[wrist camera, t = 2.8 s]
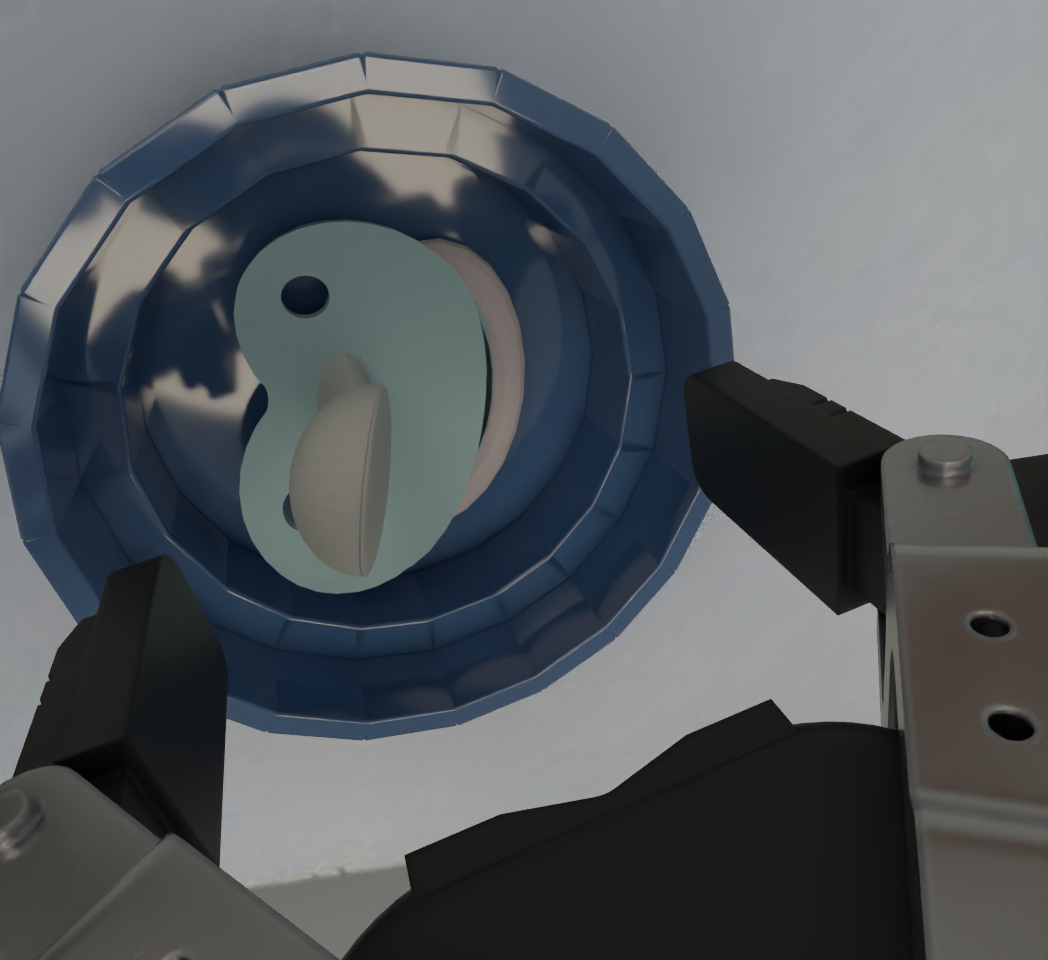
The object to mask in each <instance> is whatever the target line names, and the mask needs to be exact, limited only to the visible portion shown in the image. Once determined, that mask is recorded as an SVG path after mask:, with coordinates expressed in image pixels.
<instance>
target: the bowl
mask: <svg viewBox="0 0 1048 960" xmlns="http://www.w3.org/2000/svg"><path fill="white" fill-rule="evenodd" d="M339 219H349V220H358V221H367V222H372V223H376V224H379V225H383V226H386V227H390V228H393V229H395V230H398V231H400V232H402V233H404V234H406V235H408V236H410V237H412V238H414V239H416V240H417V241H422V240H430V239H438V238H441V239H444V240H448V241H451V242H454V243H458V244H461V245H464V246H467V247H469V248H470V249H471V250H472V251H474V252H475V253H476V254H477V255H479V256H480V257H481V258H483V259H484V260H485V261H486V262H488V263H489V264H490V265H491V266H492V268H493V269H494V271H495V272H496V274H497V275H498V277H499V278H500V280H501V281H502V283H503V284H504V286H505V287H506V289H507V290H508V292H509V295H510V297H511V300H512V303H513V306H514V309H515V311H516V314H517V317H518V320H519V323H520V328H521V335H522V342H523V349H524V356H525V371H524V395H523V402H522V407H521V411H520V416H519V420H518V425H517V430H516V433H515V436H514V438H513V441H512V443H511V445H510V448H509V450H508V453H507V455H506V458H505V460H504V463H503V464H502V466H501V468H500V469H499V471H498V472H497V474H496V475H495V477H494V478H493V480H492V481H491V483H490V484H489V486H488V488H487V489H486V490H485V491H484V492H483V493H482V494H481V495H480V496H479V497H478V498H477V499H476V500H475V501H474V502H473V503H472V504H471V505H470V506H469V507H468V508H467V509H466V510H464V511H463V512H461V513H459V514H457V515H456V516H454V517H453V518H452V520H451V522H450V523H449V525H448V527H447V529H446V530H445V532H444V533H443V534H442V535H441V537H440V538H439V539H438V541H437V542H436V543H435V545H434V546H433V547H432V549H431V550H430V551H429V552H428V553H427V554H426V555H424V556H423V557H422V558H421V559H420V560H418V561H417V562H416V563H415V564H414V565H413V566H411V567H409V568H407V569H406V570H404V571H403V572H402V573H401V574H399V575H398V576H397V577H395V578H393V579H391V580H388V581H386V582H384V583H382V584H380V585H379V586H376V587H373V588H369V589H366V590H363V591H359V592H350V593H341V594H333V593H323V592H316V591H314V590H311V589H308V588H305V587H301V586H298V585H297V584H295V583H293V582H292V581H290V580H288V579H287V578H285V577H284V576H282V575H281V574H280V573H279V572H277V571H276V570H275V569H274V568H273V567H272V566H271V565H270V564H269V563H268V562H267V561H266V560H265V559H264V557H263V556H262V555H261V553H260V552H259V550H258V549H257V547H256V546H255V545H254V543H253V541H252V540H251V537H250V535H249V532H248V530H247V527H246V525H245V522H244V519H243V514H242V508H241V501H240V494H239V487H240V470H241V466H242V462H243V458H244V454H245V450H246V447H247V445H248V443H249V440H250V438H251V436H252V434H253V432H254V429H255V427H256V425H257V424H258V422H259V421H260V419H261V418H262V416H263V415H264V413H265V412H266V411H267V408H268V393H267V390H266V388H265V386H264V385H263V384H261V383H260V381H259V380H258V379H257V378H256V376H255V375H254V374H253V372H252V370H251V368H250V366H249V365H248V363H247V361H246V359H245V358H244V356H243V353H242V350H241V348H240V345H239V342H238V339H237V336H236V329H235V321H234V306H235V298H236V292H237V288H238V284H239V282H240V279H241V277H242V275H243V274H244V272H245V270H246V269H247V267H248V266H249V264H250V262H251V261H252V260H253V258H254V257H255V255H256V254H257V253H258V252H259V251H260V250H261V249H262V248H263V247H264V246H266V245H267V244H268V243H269V242H270V241H271V240H273V239H274V238H275V237H277V236H279V235H281V234H283V233H285V232H287V231H289V230H291V229H293V228H295V227H297V226H300V225H304V224H308V223H312V222H317V221H322V220H339ZM20 292H21V293H20V294H19V295H18V296H17V301H16V307H15V312H14V318H13V323H12V329H11V335H10V340H9V346H8V351H7V357H6V362H5V368H4V373H3V379H2V385H1V390H0V447H1V451H2V456H3V460H4V465H5V469H6V474H7V478H8V483H9V487H10V492H11V496H12V501H13V505H14V510H15V514H16V519H17V523H18V528H19V532H20V537H21V538H22V540H23V543H24V545H25V547H26V548H27V550H28V551H29V552H30V554H31V555H32V557H33V558H34V560H35V561H36V563H37V564H38V566H39V567H40V569H41V570H42V572H43V573H44V575H45V576H46V578H47V579H48V581H49V582H50V584H51V585H52V586H53V588H54V589H55V591H56V592H57V594H58V595H59V597H60V598H61V600H62V601H63V603H64V604H65V606H66V607H67V609H68V610H69V612H70V613H71V615H72V616H73V617H74V619H75V620H76V622H77V623H78V624H79V622H80V621H81V620H82V619H85V618H87V617H90V616H93V615H96V614H97V611H98V608H99V604H100V601H101V598H102V594H103V591H104V588H105V585H106V581H107V578H108V576H109V574H110V573H111V572H114V571H117V570H120V569H122V568H125V567H128V566H131V565H134V564H137V563H140V562H143V561H146V560H149V559H152V558H154V557H157V556H160V555H163V554H167V555H169V556H170V557H171V558H172V559H173V560H174V561H175V562H176V564H177V565H178V567H179V569H180V570H181V572H182V574H183V576H184V578H185V579H186V581H187V583H188V585H189V586H190V588H191V590H192V592H193V594H194V595H195V597H196V599H197V601H198V603H199V604H200V606H201V608H202V610H203V612H204V613H205V615H206V617H207V619H208V620H209V622H210V624H211V626H212V628H213V629H214V631H215V633H216V635H217V637H218V639H219V641H220V644H221V646H222V649H223V652H224V656H225V659H226V664H227V670H228V690H227V711H226V718H227V719H230V720H233V721H235V722H238V723H241V724H244V725H247V726H249V727H252V728H255V729H258V730H261V731H263V732H266V731H268V732H269V733H277V734H290V735H302V736H315V737H327V738H340V739H352V740H363V739H364V738H365V740H370V739H376V738H382V737H389V736H395V735H401V734H407V733H413V732H420V731H426V730H432V729H438V728H444V727H450V726H455V725H457V724H458V725H460V724H463V723H465V722H467V721H470V720H472V719H475V718H477V717H480V716H482V715H484V714H487V713H489V712H492V711H494V710H497V709H499V708H502V707H504V706H506V705H509V704H511V703H514V702H516V701H519V700H521V699H524V698H526V697H528V696H531V695H533V694H536V693H538V692H541V691H542V689H545V688H547V687H548V686H550V685H551V684H553V683H554V682H555V681H557V680H558V679H560V678H561V677H562V676H564V675H565V674H567V673H568V672H570V671H571V670H572V669H574V668H575V667H577V666H578V665H579V664H581V663H582V662H584V661H585V660H587V659H588V658H589V657H591V656H592V655H594V654H595V653H597V652H598V651H599V650H601V649H602V648H604V647H605V646H606V645H608V644H609V643H611V642H612V641H614V640H615V637H618V636H619V635H620V634H621V633H622V632H623V630H624V629H625V628H626V627H627V626H628V625H629V624H630V623H631V621H632V620H633V619H634V618H635V617H636V616H637V615H638V614H639V612H640V611H641V610H642V609H643V608H644V607H645V606H646V605H647V603H648V602H649V601H650V600H651V599H652V598H653V597H654V596H655V594H656V593H657V592H658V591H659V590H660V589H661V588H662V587H663V585H664V584H665V583H666V582H667V581H668V580H669V579H670V578H671V576H672V575H673V574H674V572H675V571H674V570H677V568H678V566H679V565H680V563H681V561H682V559H683V557H684V555H685V553H686V551H687V549H688V547H689V545H690V543H691V542H692V540H693V538H694V536H695V534H696V532H697V530H698V528H699V526H700V524H701V522H702V520H703V519H704V517H705V515H706V513H707V511H708V509H709V507H710V505H711V503H712V502H711V501H710V500H709V499H708V498H707V497H706V495H705V494H704V492H703V491H702V489H701V488H700V486H699V484H698V481H697V479H696V476H695V473H694V470H693V466H692V460H691V452H690V443H689V435H688V426H687V418H686V410H685V401H684V392H683V387H684V381H685V379H686V377H687V376H688V375H691V374H694V373H697V372H700V371H703V370H706V369H709V368H712V367H714V366H717V365H720V364H723V363H726V362H729V361H734V355H733V342H732V329H731V317H730V308H729V306H728V305H729V302H728V300H727V297H726V295H725V293H724V290H723V288H722V286H721V283H720V281H719V278H718V276H717V274H716V271H715V269H714V267H713V264H712V262H711V260H710V257H709V255H708V252H707V250H706V248H705V245H704V243H703V241H702V238H701V236H700V234H699V231H698V229H697V226H696V224H695V222H694V219H693V217H692V215H691V212H690V211H689V210H688V208H687V206H686V205H685V204H684V203H683V202H682V201H681V200H680V199H679V197H678V196H677V195H676V194H675V193H674V192H673V191H672V190H671V189H670V188H669V187H668V186H667V184H666V183H665V182H664V181H663V180H662V179H661V178H660V177H659V176H658V175H657V174H656V172H655V171H654V170H653V169H652V168H651V167H650V166H649V165H648V164H647V163H646V162H645V160H644V159H643V158H642V157H641V156H640V155H639V154H638V153H637V152H636V151H635V150H634V149H633V147H632V146H631V145H630V144H629V143H628V142H627V141H626V140H625V139H624V138H623V137H622V135H621V134H620V133H619V132H618V131H617V130H616V129H615V128H613V127H611V126H610V125H609V123H607V122H605V121H603V120H601V119H599V118H597V117H595V116H593V115H591V114H589V113H587V112H585V111H583V110H582V109H580V108H578V107H576V106H574V105H572V104H570V103H568V102H566V101H564V100H562V99H560V98H558V97H556V96H554V95H552V94H550V93H548V92H546V91H544V90H542V89H541V88H539V87H537V86H535V85H533V84H531V83H529V82H527V81H525V80H523V79H521V78H519V77H517V76H515V75H513V74H511V73H509V72H507V71H505V70H503V69H500V70H498V68H496V67H491V66H482V65H474V64H465V63H456V62H448V61H439V60H431V59H422V58H413V57H405V56H396V55H387V54H379V53H370V52H365V53H353V54H349V55H345V56H341V57H337V58H333V59H329V60H325V61H321V62H317V63H313V64H309V65H305V66H301V67H297V68H293V69H289V70H285V71H281V72H277V73H273V74H269V75H265V76H261V77H257V78H253V79H249V80H245V81H241V82H237V83H233V84H229V85H225V86H222V87H221V88H220V89H217V90H213V91H212V92H210V93H209V94H207V95H206V96H205V97H203V98H202V99H200V100H199V101H197V102H196V103H195V104H193V105H192V106H190V107H189V108H188V109H186V110H185V111H183V112H182V113H180V114H179V115H178V116H176V117H175V118H173V119H172V120H170V121H169V122H168V123H166V124H165V125H163V126H162V127H160V128H159V129H158V130H156V131H155V132H153V133H152V134H150V135H149V136H148V137H146V138H145V139H143V140H142V141H140V142H139V143H138V144H136V145H135V146H133V147H132V148H130V149H129V150H128V151H126V152H125V153H123V154H122V155H120V156H119V157H118V158H116V159H115V160H113V161H112V162H111V163H109V164H108V165H106V166H105V167H103V168H102V169H101V170H100V171H99V173H98V174H97V175H95V176H94V177H93V178H92V179H91V181H90V183H89V184H88V186H87V187H86V189H85V190H84V192H83V193H82V195H81V196H80V198H79V199H78V201H77V203H76V204H75V206H74V207H73V209H72V210H71V212H70V213H69V215H68V216H67V218H66V219H65V221H64V223H63V224H62V226H61V227H60V229H59V230H58V232H57V233H56V235H55V236H54V238H53V239H52V241H51V243H50V244H49V246H48V247H47V249H46V250H45V252H44V253H43V255H42V256H41V258H40V259H39V261H38V263H37V264H36V266H35V267H34V269H33V270H32V272H31V273H30V275H29V276H28V278H27V280H26V281H25V283H24V284H23V286H22V287H21V291H20ZM327 298H328V288H327V286H326V285H325V284H324V283H323V282H322V281H321V280H319V279H317V278H315V277H312V276H298V277H296V278H293V279H291V280H290V281H289V282H287V283H286V284H285V286H284V287H283V289H282V292H281V300H282V302H283V304H284V306H285V307H287V308H288V309H289V310H290V311H292V312H294V313H296V314H302V315H306V314H312V313H315V312H317V311H319V310H320V309H321V308H322V307H323V306H324V305H325V303H326V302H327ZM283 511H284V513H285V515H286V516H287V517H288V518H289V519H290V520H291V521H292V522H295V521H294V518H293V514H292V510H291V504H290V495H289V494H288V495H287V496H286V498H285V500H284V502H283Z"/></svg>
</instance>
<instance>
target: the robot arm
mask: <svg viewBox="0 0 1048 960" xmlns="http://www.w3.org/2000/svg"><path fill="white" fill-rule="evenodd" d="M683 392H684V401H685V410H686V418H687V426H688V435H689V443H690V452H691V460H692V466H693V470H694V473H695V476H696V479H697V481H698V484H699V486H700V488H701V489H702V491H703V492H704V494H705V495H706V497H707V498H708V499H709V500H710V501H711V502H712V503H714V504H715V505H716V506H717V507H718V508H719V509H720V510H721V511H722V512H724V513H725V514H726V515H727V516H728V517H729V518H730V519H731V520H732V521H734V522H735V523H736V524H737V525H738V526H739V527H740V528H741V529H742V530H744V531H745V532H746V533H747V534H748V535H749V536H750V537H751V538H752V539H754V540H755V541H756V542H757V543H758V544H759V545H760V546H761V547H762V548H764V549H765V550H766V551H767V552H768V553H769V554H770V555H771V556H772V557H774V558H775V559H776V560H777V561H778V562H779V563H780V564H781V565H782V566H784V567H785V568H786V569H787V570H788V571H789V572H790V573H791V574H792V575H794V576H795V577H796V578H797V579H798V580H799V581H800V582H801V583H802V584H804V585H805V586H806V587H807V588H808V589H809V590H810V591H811V592H812V593H814V594H815V595H816V596H817V597H818V598H819V599H820V600H821V601H822V602H824V603H825V604H826V605H827V606H828V607H829V608H830V609H831V610H832V611H834V612H835V613H836V614H837V615H840V614H843V613H845V612H848V611H850V610H852V609H855V608H857V607H860V606H862V605H864V604H867V603H869V602H870V603H871V604H873V605H874V606H875V607H876V608H877V644H878V667H879V689H880V712H881V727H880V726H876V725H869V724H861V723H853V722H814V723H801V724H795V725H793V724H792V723H791V722H790V721H789V720H788V718H787V717H786V716H785V715H784V714H783V713H782V711H781V710H780V709H779V708H778V707H777V706H776V704H775V703H774V702H773V701H772V700H771V699H770V700H767V701H765V702H763V703H760V704H758V705H756V706H753V707H751V708H749V709H746V710H744V711H742V712H739V713H737V714H735V715H732V716H730V717H728V718H725V719H723V720H721V721H718V722H716V723H714V724H711V725H709V726H706V727H704V728H702V729H699V730H697V731H695V732H692V733H690V734H688V735H686V736H685V737H683V738H682V739H680V740H679V741H678V742H676V743H675V744H674V745H672V746H671V747H670V748H668V749H667V750H666V751H664V752H663V753H662V754H660V755H659V756H658V757H656V758H655V759H654V760H652V761H651V762H650V763H648V764H647V765H646V766H644V767H643V768H642V769H640V770H639V771H638V772H636V773H635V774H634V775H632V776H631V777H630V778H628V779H627V780H626V781H624V782H623V783H622V784H620V785H619V786H618V787H616V788H615V789H613V790H612V791H610V792H609V793H606V794H604V795H601V796H598V797H593V798H588V799H582V800H577V801H571V802H566V803H560V804H555V805H549V806H544V807H538V808H533V809H527V810H522V811H516V812H511V813H506V814H500V815H498V816H495V817H493V818H491V819H488V820H486V821H484V822H481V823H479V824H477V825H474V826H472V827H470V828H467V829H465V830H463V831H460V832H458V833H456V834H453V835H451V836H449V837H446V838H444V839H442V840H439V841H437V842H435V843H432V844H430V845H427V846H425V847H423V848H420V849H418V850H416V851H413V852H411V853H409V854H406V855H405V860H406V866H407V871H408V876H409V881H410V886H411V890H409V891H408V892H406V893H405V894H404V895H402V896H401V897H400V898H399V899H397V900H396V901H395V902H394V903H393V904H391V905H390V906H389V907H388V908H387V909H386V910H385V911H384V912H383V913H381V914H380V915H379V916H378V917H377V918H376V919H375V920H374V921H373V923H371V925H370V926H369V927H368V928H367V929H366V930H365V931H364V932H363V933H362V934H361V936H360V937H359V938H358V939H357V940H356V942H354V944H353V945H352V947H351V948H350V949H349V950H348V952H347V953H346V954H345V956H344V957H343V958H342V960H1048V454H1045V455H1038V456H1032V457H1025V458H1019V459H1012V460H1009V458H1008V457H1007V455H1006V454H1005V453H1004V452H1003V451H1001V450H1000V449H998V448H997V447H995V446H993V445H991V444H989V443H986V442H984V441H981V440H978V439H974V438H970V437H964V436H957V435H927V436H920V437H915V438H911V439H907V440H904V439H903V438H901V437H899V436H897V435H895V434H893V433H891V432H890V431H888V430H886V429H884V428H882V427H880V426H878V425H877V424H875V423H873V422H871V421H869V420H867V419H865V418H864V417H862V416H860V415H858V414H856V413H854V412H852V411H848V412H847V411H846V408H845V407H843V406H841V405H839V404H837V403H836V402H834V401H832V400H831V401H828V400H827V398H826V397H824V396H823V395H821V394H819V393H817V392H815V391H813V390H811V389H810V388H808V387H806V386H804V385H800V384H795V383H790V382H785V381H781V380H776V379H770V380H767V379H766V378H764V377H762V376H760V375H759V374H757V373H755V372H753V371H751V370H750V369H748V368H746V367H744V366H743V365H741V364H739V363H737V362H735V361H729V362H726V363H723V364H720V365H717V366H714V367H712V368H709V369H706V370H703V371H700V372H697V373H694V374H691V375H688V376H687V377H686V379H685V381H684V387H683ZM48 677H49V680H50V681H48V682H46V684H45V687H44V690H43V692H42V695H41V698H40V701H41V705H38V707H37V709H36V712H35V715H34V718H33V721H32V724H31V726H30V729H29V732H28V735H27V738H26V741H25V743H24V746H23V749H22V752H21V755H20V757H19V760H18V763H17V766H16V769H15V772H14V774H13V777H12V778H11V779H9V780H7V781H5V782H4V783H2V784H1V785H0V960H339V959H338V958H337V957H335V956H334V955H333V954H331V953H330V952H329V951H328V950H326V949H325V948H324V947H322V946H321V945H320V944H318V943H317V942H316V941H314V940H313V939H312V938H311V937H309V936H308V935H307V934H305V933H304V932H303V931H302V930H300V929H299V928H298V927H296V926H295V925H294V924H292V923H291V922H290V921H288V920H287V919H286V918H284V917H283V916H282V915H281V914H279V913H278V912H277V911H276V910H274V909H273V908H272V907H270V906H269V905H268V904H266V903H265V902H264V901H262V900H261V899H260V898H259V897H257V896H256V895H254V894H253V893H252V892H251V891H249V890H248V889H247V888H246V887H244V886H243V885H242V884H240V883H239V882H238V881H237V880H235V879H234V878H233V877H231V876H230V875H229V874H227V873H226V872H225V871H224V870H222V869H221V868H220V867H219V864H220V842H221V820H222V798H223V777H224V755H225V733H226V711H227V690H228V670H227V664H226V659H225V656H224V652H223V649H222V646H221V644H220V641H219V639H218V637H217V635H216V633H215V631H214V629H213V628H212V626H211V624H210V622H209V620H208V619H207V617H206V615H205V613H204V612H203V610H202V608H201V606H200V604H199V603H198V601H197V599H196V597H195V595H194V594H193V592H192V590H191V588H190V586H189V585H188V583H187V581H186V579H185V578H184V576H183V574H182V572H181V570H180V569H179V567H178V565H177V564H176V562H175V561H174V560H173V559H172V558H171V557H170V556H169V555H167V554H163V555H160V556H157V557H154V558H152V559H149V560H146V561H143V562H140V563H137V564H134V565H131V566H128V567H125V568H122V569H120V570H117V571H114V572H111V573H110V574H109V576H108V578H107V581H106V585H105V588H104V591H103V594H102V598H101V601H100V604H99V608H98V611H97V614H96V615H93V616H90V617H87V618H85V619H82V620H81V621H80V622H79V624H78V625H77V626H76V627H75V629H74V630H73V631H72V632H71V633H70V635H69V636H68V637H67V638H66V639H65V641H64V642H63V643H62V644H61V646H60V647H59V648H58V650H57V653H56V656H55V658H54V661H53V664H52V667H51V670H50V673H49V675H48Z"/></svg>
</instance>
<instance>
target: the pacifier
mask: <svg viewBox="0 0 1048 960" xmlns="http://www.w3.org/2000/svg"><path fill="white" fill-rule="evenodd" d="M298 276H312V277H315V278H317V279H319V280H321V281H322V282H323V283H324V284H325V285H326V286H327V288H328V298H327V302H326V303H325V305H324V306H323V307H322V308H321V309H320V310H319V311H317V312H315V313H312V314H306V315H302V314H296V313H294V312H292V311H290V310H289V309H288V308H287V307H285V306H284V304H283V302H282V300H281V292H282V289H283V287H284V286H285V284H286V283H287V282H289V281H290V280H291V279H293V278H296V277H298ZM234 321H235V329H236V336H237V339H238V342H239V345H240V348H241V350H242V353H243V356H244V358H245V359H246V361H247V363H248V365H249V366H250V368H251V370H252V372H253V374H254V375H255V376H256V378H257V379H258V380H259V381H260V383H261V384H263V385H264V386H265V388H266V390H267V393H268V408H267V411H266V412H265V413H264V415H263V416H262V418H261V419H260V421H259V422H258V424H257V425H256V427H255V429H254V432H253V434H252V436H251V438H250V440H249V443H248V445H247V447H246V450H245V454H244V458H243V462H242V466H241V470H240V487H239V494H240V501H241V508H242V514H243V519H244V522H245V525H246V527H247V530H248V532H249V535H250V537H251V540H252V541H253V543H254V545H255V546H256V547H257V549H258V550H259V552H260V553H261V555H262V556H263V557H264V559H265V560H266V561H267V562H268V563H269V564H270V565H271V566H272V567H273V568H274V569H275V570H276V571H277V572H279V573H280V574H281V575H282V576H284V577H285V578H287V579H288V580H290V581H292V582H293V583H295V584H297V585H298V586H301V587H305V588H308V589H311V590H314V591H316V592H323V593H333V594H341V593H350V592H359V591H363V590H366V589H369V588H373V587H376V586H379V585H380V584H382V583H384V582H386V581H388V580H391V579H393V578H395V577H397V576H398V575H399V574H401V573H402V572H403V571H404V570H406V569H407V568H409V567H411V566H413V565H414V564H415V563H416V562H417V561H418V560H420V559H421V558H422V557H423V556H424V555H426V554H427V553H428V552H429V551H430V550H431V549H432V547H433V546H434V545H435V543H436V542H437V541H438V539H439V538H440V537H441V535H442V534H443V533H444V532H445V530H446V529H447V527H448V525H449V523H450V522H451V520H452V518H453V517H454V516H456V515H457V514H459V513H461V512H463V511H464V510H466V509H467V508H468V507H469V506H470V505H471V504H472V503H473V502H474V501H475V500H476V499H477V498H478V497H479V496H480V495H481V494H482V493H483V492H484V491H485V490H486V489H487V488H488V486H489V484H490V483H491V481H492V480H493V478H494V477H495V475H496V474H497V472H498V471H499V469H500V468H501V466H502V464H503V463H504V460H505V458H506V455H507V453H508V450H509V448H510V445H511V443H512V441H513V438H514V436H515V433H516V430H517V425H518V420H519V416H520V411H521V407H522V402H523V395H524V371H525V356H524V349H523V342H522V335H521V328H520V323H519V320H518V317H517V314H516V311H515V309H514V306H513V303H512V300H511V297H510V295H509V292H508V290H507V289H506V287H505V286H504V284H503V283H502V281H501V280H500V278H499V277H498V275H497V274H496V272H495V271H494V269H493V268H492V266H491V265H490V264H489V263H488V262H486V261H485V260H484V259H483V258H481V257H480V256H479V255H477V254H476V253H475V252H474V251H472V250H471V249H470V248H469V247H467V246H464V245H461V244H458V243H454V242H451V241H448V240H444V239H441V238H438V239H430V240H422V241H417V240H416V239H414V238H412V237H410V236H408V235H406V234H404V233H402V232H400V231H398V230H395V229H393V228H390V227H386V226H383V225H379V224H376V223H372V222H367V221H358V220H349V219H339V220H322V221H317V222H312V223H308V224H304V225H300V226H297V227H295V228H293V229H291V230H289V231H287V232H285V233H283V234H281V235H279V236H277V237H275V238H274V239H273V240H271V241H270V242H269V243H268V244H267V245H266V246H264V247H263V248H262V249H261V250H260V251H259V252H258V253H257V254H256V255H255V257H254V258H253V260H252V261H251V262H250V264H249V266H248V267H247V269H246V270H245V272H244V274H243V275H242V277H241V279H240V282H239V284H238V288H237V292H236V298H235V306H234ZM288 494H289V495H290V504H291V510H292V514H293V518H294V521H295V522H292V521H291V520H290V519H289V518H288V517H287V516H286V515H285V513H284V511H283V502H284V500H285V498H286V496H287V495H288Z"/></svg>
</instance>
